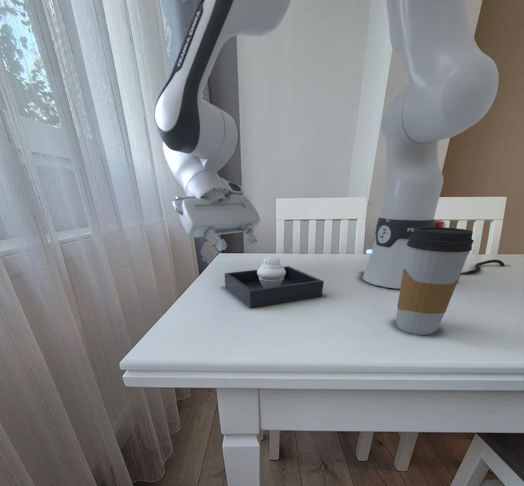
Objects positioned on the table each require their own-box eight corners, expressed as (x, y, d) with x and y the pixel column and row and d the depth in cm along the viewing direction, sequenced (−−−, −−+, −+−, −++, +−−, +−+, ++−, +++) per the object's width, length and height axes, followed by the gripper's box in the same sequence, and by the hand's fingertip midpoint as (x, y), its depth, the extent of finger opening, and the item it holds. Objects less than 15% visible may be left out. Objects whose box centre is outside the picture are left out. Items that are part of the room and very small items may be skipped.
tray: (287, 279, 74) (288, 266, 72) (322, 296, 62) (323, 280, 61) (225, 287, 68) (224, 273, 66) (250, 308, 56) (249, 291, 54)
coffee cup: (452, 340, 44) (489, 234, 37) (393, 335, 46) (418, 232, 38) (435, 319, 51) (463, 227, 44) (385, 315, 53) (404, 225, 46)
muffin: (285, 284, 67) (286, 252, 64) (285, 292, 62) (286, 258, 58) (258, 283, 67) (258, 252, 64) (255, 292, 62) (255, 258, 59)
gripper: (173, 185, 59) (208, 241, 58) (246, 186, 72) (275, 232, 71) (165, 208, 63) (196, 261, 62) (234, 205, 77) (262, 249, 76)
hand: (239, 246), depth 67 cm, fingers open, 8 cm apart
